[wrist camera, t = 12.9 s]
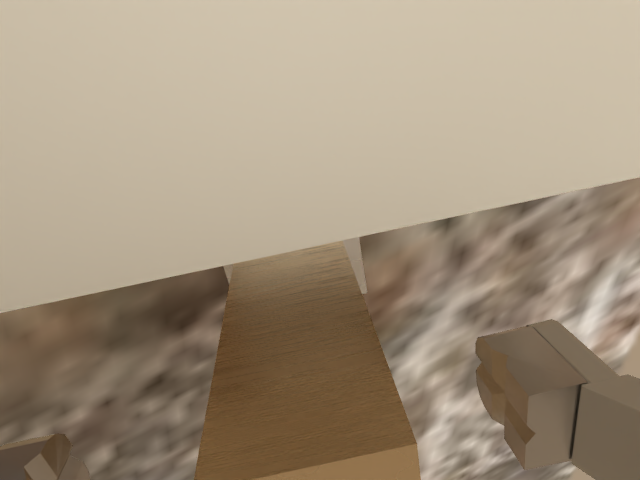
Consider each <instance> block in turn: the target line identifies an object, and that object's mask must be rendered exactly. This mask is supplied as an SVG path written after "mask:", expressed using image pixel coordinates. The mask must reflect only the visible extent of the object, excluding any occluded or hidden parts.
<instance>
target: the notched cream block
mask: <svg viewBox="0 0 640 480" xmlns="http://www.w3.org/2000/svg"><path fill="white" fill-rule="evenodd" d="M638 177H640V0H0V313H4V312H9V311H13V310H18V309H23V308H27V307H32V306H37V305H42V304H46V303H51V302H56V301H60V300H65V299H70V298H74V297H79V296H84V295H89V294H93V293H98V292H103V291H107V290H112V289H117V288H121V287H126V286H131V285H136V284H140V283H145V282H150V281H154V280H159V279H164V278H168V277H173V276H178V275H183V274H187V273H192V272H197V271H201V270H206V269H211V268H215V267H220V266H225V265H230V264H234V263H239V262H244V261H248V260H253V259H258V258H262V257H267V256H272V255H277V254H281V253H286V252H291V251H295V250H300V249H305V248H309V247H314V246H319V245H324V244H328V243H333V242H338V241H342V240H347V239H352V238H356V237H361V236H366V235H371V234H375V233H380V232H385V231H389V230H394V229H399V228H403V227H408V226H413V225H418V224H422V223H427V222H432V221H436V220H441V219H446V218H450V217H455V216H460V215H465V214H469V213H474V212H479V211H483V210H488V209H493V208H497V207H502V206H507V205H512V204H516V203H521V202H526V201H530V200H535V199H540V198H544V197H549V196H554V195H559V194H563V193H568V192H573V191H577V190H582V189H587V188H591V187H596V186H601V185H606V184H610V183H615V182H620V181H624V180H629V179H634V178H638Z"/></svg>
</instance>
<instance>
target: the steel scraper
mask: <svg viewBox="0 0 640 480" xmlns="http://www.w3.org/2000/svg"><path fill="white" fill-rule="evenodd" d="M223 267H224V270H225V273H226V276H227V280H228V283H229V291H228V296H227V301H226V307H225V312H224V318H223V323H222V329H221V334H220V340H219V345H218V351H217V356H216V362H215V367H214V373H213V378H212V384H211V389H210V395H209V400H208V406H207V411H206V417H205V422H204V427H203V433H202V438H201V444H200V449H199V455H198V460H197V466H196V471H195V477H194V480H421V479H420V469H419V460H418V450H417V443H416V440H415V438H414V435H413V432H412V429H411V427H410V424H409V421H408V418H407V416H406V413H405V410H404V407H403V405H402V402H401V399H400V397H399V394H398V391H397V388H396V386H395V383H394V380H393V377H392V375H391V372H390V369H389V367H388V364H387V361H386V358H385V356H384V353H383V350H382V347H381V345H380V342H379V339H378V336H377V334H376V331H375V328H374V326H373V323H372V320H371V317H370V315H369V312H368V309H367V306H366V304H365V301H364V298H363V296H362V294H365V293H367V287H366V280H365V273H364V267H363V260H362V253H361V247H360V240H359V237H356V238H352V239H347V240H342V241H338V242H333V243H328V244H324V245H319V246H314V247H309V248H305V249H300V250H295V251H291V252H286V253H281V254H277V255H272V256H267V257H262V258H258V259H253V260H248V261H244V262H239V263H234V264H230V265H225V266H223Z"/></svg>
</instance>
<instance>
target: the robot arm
mask: <svg viewBox="0 0 640 480" xmlns="http://www.w3.org/2000/svg"><path fill="white" fill-rule="evenodd" d="M476 355H477V356H478V358H479V359H480V361H481V362H482V363H481V364H480V365H479V367H478V368H477V370H476V382H477V387H478V390H479V394H480V398H481V400H482V402H483V404H484V406H485V408H486V410H487V412H488V413H489V415H490V416H491V418H492V419H493V420H495V421H497V422H499V423H500V424H502V425H504V439H505V440H506V442H507V444H508V445H509V447H510V448H511V450H512V451H513V453H514V455H515V456H516V458H517V459H518V461H519V462H520V464H521V466H522V467H523V469H524V470H529V469H534V468H538V467H543V466H548V465H553V464H557V463H562V462H567V461H571V463H572V464H573V465H575V466H576V467H578V468H579V469H581V470H582V471H583V472H585V473H587V474H588V475H590V476H591V477H592V478H594V479H595V480H640V379H639V378H636V377H633V376H631V375H623V376H619V375H618V374H616V373H615V372H614V371H613V370H612V369H611V368H610V367H609V366H608V365H606V364H605V363H604V362H603V361H602V360H601V359H600V358H599V357H597V356H596V355H595V354H594V353H593V352H592V351H591V350H590V349H588V348H587V347H586V346H585V345H584V344H583V343H582V342H581V341H579V340H578V339H577V338H576V337H575V336H574V335H573V334H572V333H570V332H569V331H568V330H567V329H566V328H565V327H564V326H563V325H561V324H560V323H559V322H557V321H555V320H552V319H551V320H547V321H543V322H539V323H535V324H531V325H527V326H523V327H519V328H515V329H511V330H507V331H502V332H498V333H494V334H490V335H486V336H481V337H478V338H477V341H476ZM72 447H73V445H72V444H71V442H70V441H69V440H68V438H67V437H66V436H65V434H52V435H47V436H42V437H37V438H32V439H28V440H23V441H18V442H13V443H8V444H4V445H2V446H0V480H91V479H90V475H89V471H88V469H87V467H86V466H85V464H84V462H83V461H81V460H79V459H77V458H75V457H72V456H70V454H71V450H72Z"/></svg>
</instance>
